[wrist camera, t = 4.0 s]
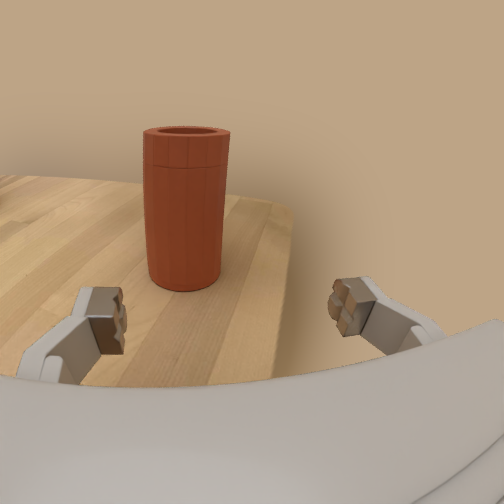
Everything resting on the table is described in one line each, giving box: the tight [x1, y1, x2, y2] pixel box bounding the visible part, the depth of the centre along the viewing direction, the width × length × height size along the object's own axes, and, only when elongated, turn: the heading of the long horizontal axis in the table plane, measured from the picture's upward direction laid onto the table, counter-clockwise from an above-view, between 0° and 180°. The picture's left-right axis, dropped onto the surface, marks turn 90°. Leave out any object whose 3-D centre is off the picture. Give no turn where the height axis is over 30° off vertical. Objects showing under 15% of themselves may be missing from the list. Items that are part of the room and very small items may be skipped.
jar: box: [143, 126, 230, 291], centre depth 21 cm, size 6×6×11 cm
